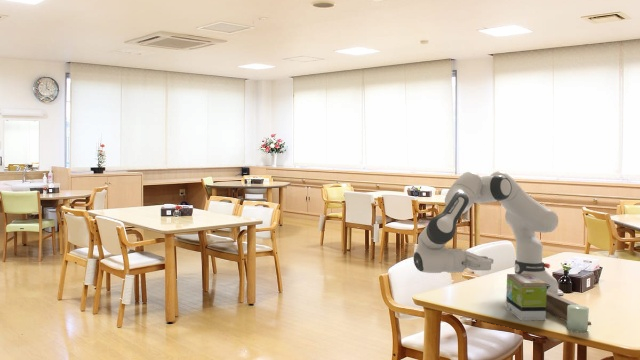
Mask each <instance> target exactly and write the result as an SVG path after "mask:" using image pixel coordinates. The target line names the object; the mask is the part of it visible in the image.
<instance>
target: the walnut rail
mask: <svg viewBox="0 0 640 360" xmlns="http://www.w3.org/2000/svg"><path fill="white" fill-rule="evenodd" d="M568 305H579V303H576V302H574V301H571V300H568V299H566V298H563V297H562V296H560V295H555V294H552V293H550V292H548V291H547V294H546V313H548V314H550V315H551V316H555V317H556V316H557V318H558V317H559V319H561V320H563V321H565V322H567V308H568ZM588 325H592V322H591V321H589V320H588Z"/></svg>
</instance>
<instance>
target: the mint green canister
mask: <svg viewBox="0 0 640 360" xmlns="http://www.w3.org/2000/svg"><path fill="white" fill-rule="evenodd" d="M589 311H590V308H589V307H588V306H586V305H585V306H584V305H582V304H581V305H580V304H578V305H568V308H567V321H566V329H567V330H568V329H569V331H571V330H572V331H571V332H575V331H578V332H577V333H585V332H584V331H587V330H588V329H589V328H588V327H589V324H588V321H589ZM587 332H588V331H587Z"/></svg>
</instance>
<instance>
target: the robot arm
mask: <svg viewBox="0 0 640 360" xmlns="http://www.w3.org/2000/svg"><path fill="white" fill-rule="evenodd" d="M448 189H449V190H448V191H447V193H446V195H445V198H444V203H445V205H446V206H445V208H444V209H443V211H442V212H441V213H440V214H438V215H436V216H435V215H434V216H433V217H432V218H431V219H430V220H429V222H428V224H427V225H426V226H425V227H424V229H422V231H421V232H420V233H419V235H418V236H417V246H416V251H415V252H414V254H413V264H414V267H416V269H417V271H419V272H421V273H427V274H440V273H449V274H450V273H452V274H453V273H464V271H465V270H466V269H469V270H471V271H491V269H492V264H494V259H493V258H492V257H491V258H489V257H488V256H486V255H477V254H476V253H473V252H470V251H468V250H463V249H462V248H450V247H449V248H447V247H446V244H447V243H448V242H449V241H451V240H453V238H454V237H455V234H456V229H457V222H458V220H459V219H460V217H461V216H462V214H465V213H466V212H467V211H469V210H470V209H471V207H473V205H474V204H488V203H493V202H498V203H500V205H501V206H502V207H504V209H505V210H506V211H505V215H504V218H505V221H506V224H507V225H508V226H510V228H511V230H512V232H513V235H514V238H515V244H516V245H515V246H516V247H515V249H516V251H515V252H516V253H515V254H516V255H515V260H514V274H531V275H533V276H535V277H537V278H538V279H540V280H542V281H544V282H546V283H547V291H548V292H550V293H552V294H555V295H557V296H562V295H564V291H562V290H561V289H559V284H558V281H557V279H556V278H555V277H554V276H553V275H551V273H549V272H548V271H547V270H546V269H550V268H551V264H550V263H547V262H543V255H544V253H543V250H544V246H543V242H541V241H540V240H539V238H538V237H537V235H536V233H540V234H541V233H544V234H545V233H552V232H555V230H556V229H557V227H558V225H559V217H558V214H557V213H556V211H554V210H552V209H549V208H548V207H546V206H544V205H543V204H541V203H540V202H539V201H537V200H536V199H534V198H533V197H531V195H529V194H528V193H527V192H526V191H525V190H524V189H523V188H522V187H521V185H519V183H518V182H517V181H516V180H515V179H514V178H512V176H510V175H509V174H508V173H506V172H505V171H503V170H499V171H498V170H497V171H494V172H492V173H491V174H490V175H484V176H480V175H479V174H478V173H476V172H472V171H467V172H464V173H463V174H461V175H459V177H458V178H457V179H456V180H455V181H454V183H453V184H452V185H451V186H450V187H449V188H448ZM535 232H536V233H535Z"/></svg>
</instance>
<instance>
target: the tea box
mask: <svg viewBox="0 0 640 360" xmlns="http://www.w3.org/2000/svg"><path fill="white" fill-rule="evenodd" d="M546 294H547V283H546V282H544V281H542V280H540V279H538V278H537V277H535V276H533V275H531V274H515V273H507V274H506V295H505V297H506V298H505V300H506V301H505V309H506V310H507V311H509V312H510V313H511V314H512V315H514V316H515V317H517V318H518V319H519V320H520V321H545V320H546V316H547V314H546V313H547V312H546Z"/></svg>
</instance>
